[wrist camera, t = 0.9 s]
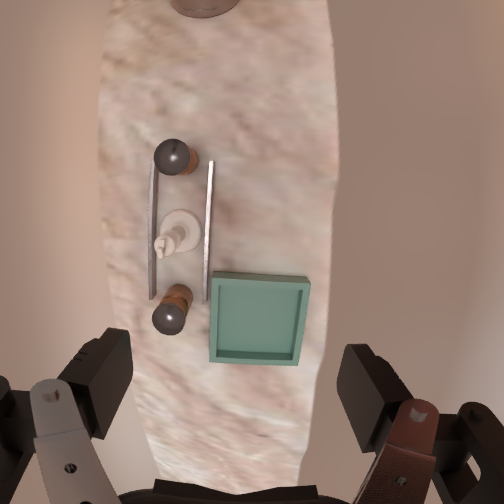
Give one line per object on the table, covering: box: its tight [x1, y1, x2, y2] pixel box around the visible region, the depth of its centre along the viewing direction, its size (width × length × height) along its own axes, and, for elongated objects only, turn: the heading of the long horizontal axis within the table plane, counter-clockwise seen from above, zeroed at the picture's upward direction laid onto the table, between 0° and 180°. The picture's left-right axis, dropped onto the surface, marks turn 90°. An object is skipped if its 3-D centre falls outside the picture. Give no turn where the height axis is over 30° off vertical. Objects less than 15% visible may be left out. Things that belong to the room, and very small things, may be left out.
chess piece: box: [154, 210, 202, 259], centre depth 31 cm, size 5×5×10 cm
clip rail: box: [148, 139, 215, 335], centre depth 32 cm, size 19×7×7 cm, turn 176°
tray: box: [209, 271, 311, 366], centre depth 37 cm, size 11×11×2 cm
